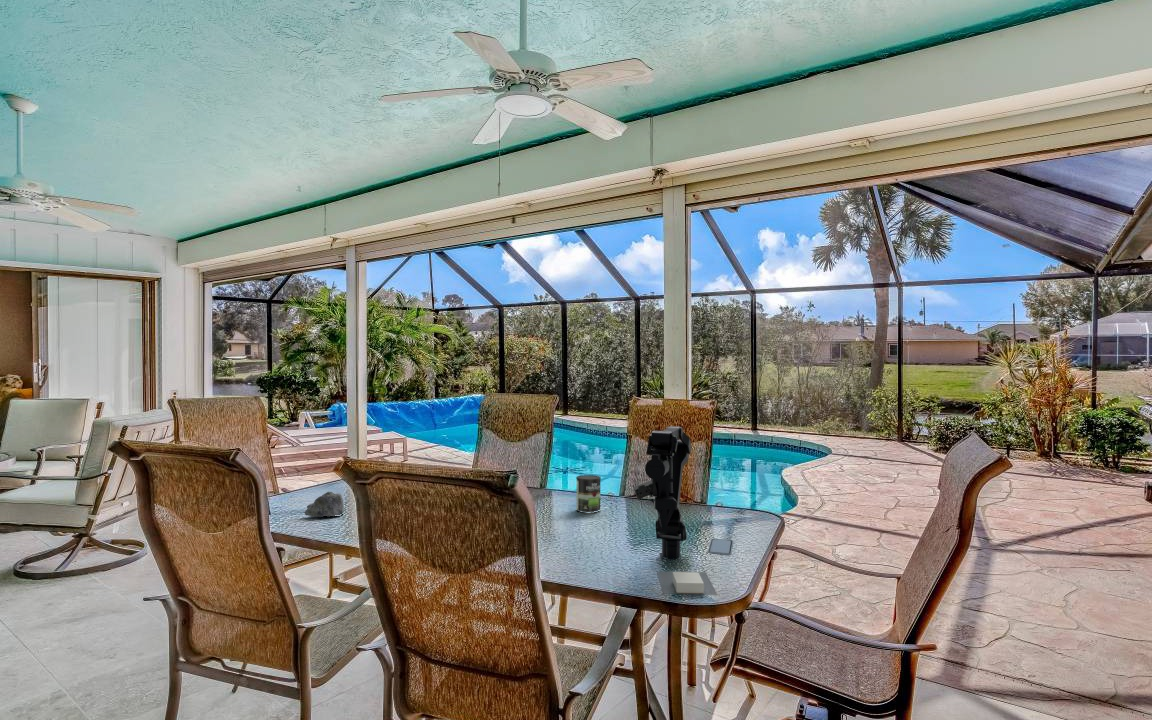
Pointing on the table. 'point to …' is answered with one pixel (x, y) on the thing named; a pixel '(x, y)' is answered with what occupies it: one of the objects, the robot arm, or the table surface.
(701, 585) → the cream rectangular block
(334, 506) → the mineral rock
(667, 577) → the mat
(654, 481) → the robot arm
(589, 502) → the coffee can
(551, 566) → the table surface
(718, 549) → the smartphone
